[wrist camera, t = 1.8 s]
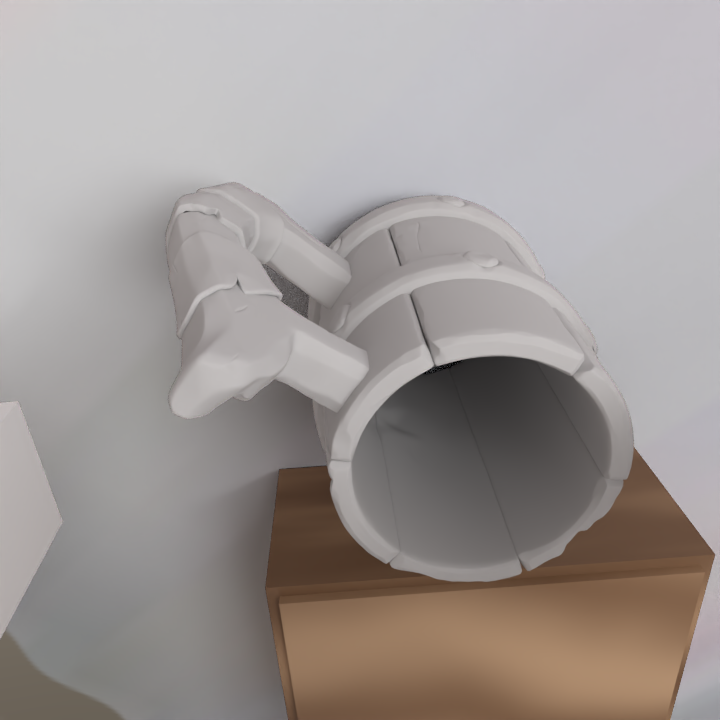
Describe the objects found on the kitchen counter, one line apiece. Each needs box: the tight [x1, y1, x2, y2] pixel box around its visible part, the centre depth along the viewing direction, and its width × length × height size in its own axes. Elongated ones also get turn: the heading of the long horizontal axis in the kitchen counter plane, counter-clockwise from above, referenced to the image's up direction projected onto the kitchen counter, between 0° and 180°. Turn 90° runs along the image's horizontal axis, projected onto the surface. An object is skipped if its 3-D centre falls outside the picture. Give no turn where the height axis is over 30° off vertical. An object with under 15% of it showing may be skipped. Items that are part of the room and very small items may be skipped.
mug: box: [166, 182, 634, 582], centre depth 16 cm, size 8×12×12 cm, turn 57°
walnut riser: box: [265, 448, 715, 720], centre depth 25 cm, size 14×14×6 cm
